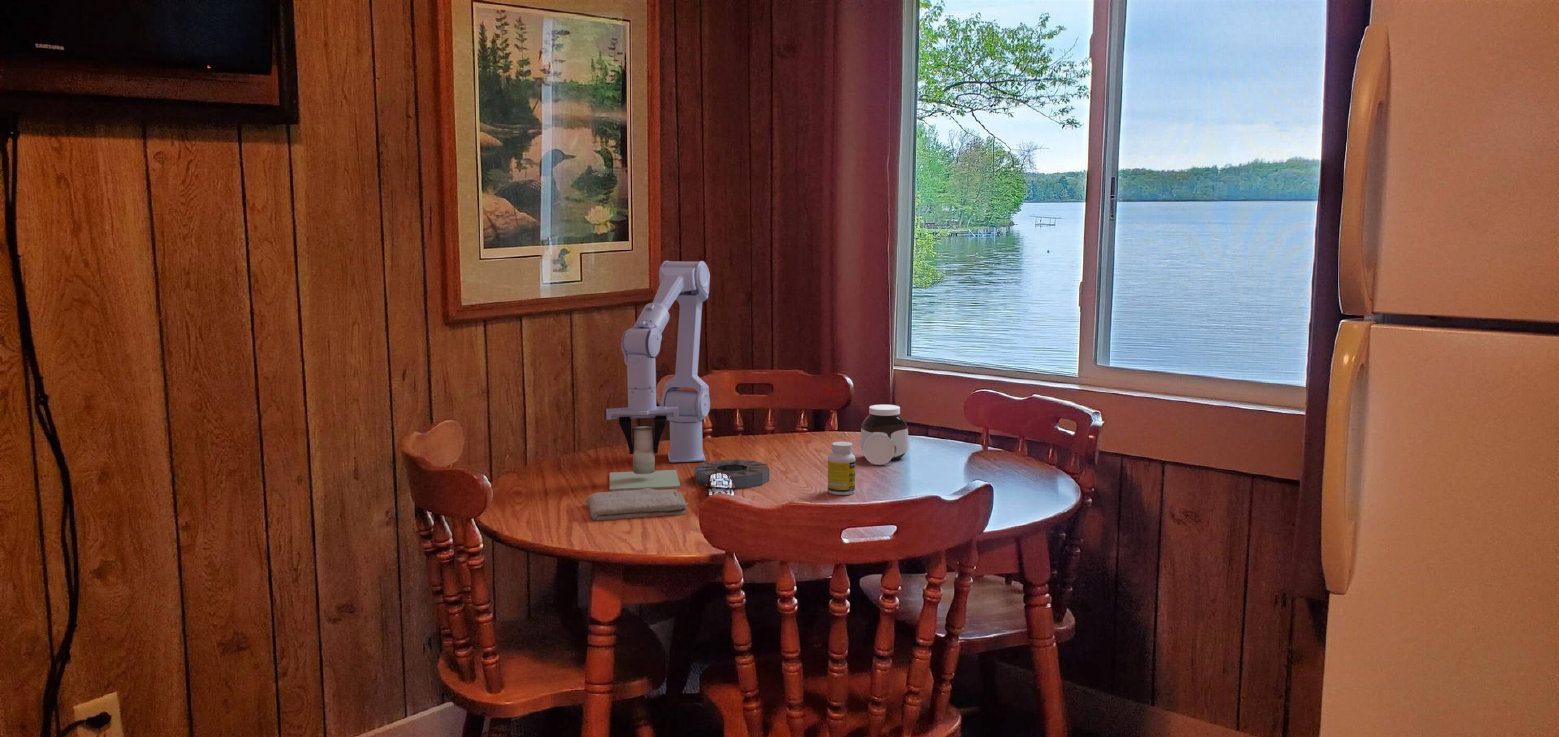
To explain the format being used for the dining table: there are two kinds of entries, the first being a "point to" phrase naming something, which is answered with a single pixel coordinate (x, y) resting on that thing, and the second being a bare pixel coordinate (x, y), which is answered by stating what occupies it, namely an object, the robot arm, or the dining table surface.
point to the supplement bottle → (841, 469)
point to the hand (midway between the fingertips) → (643, 452)
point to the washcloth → (635, 504)
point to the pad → (644, 480)
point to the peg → (643, 450)
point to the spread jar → (884, 434)
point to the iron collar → (734, 472)
